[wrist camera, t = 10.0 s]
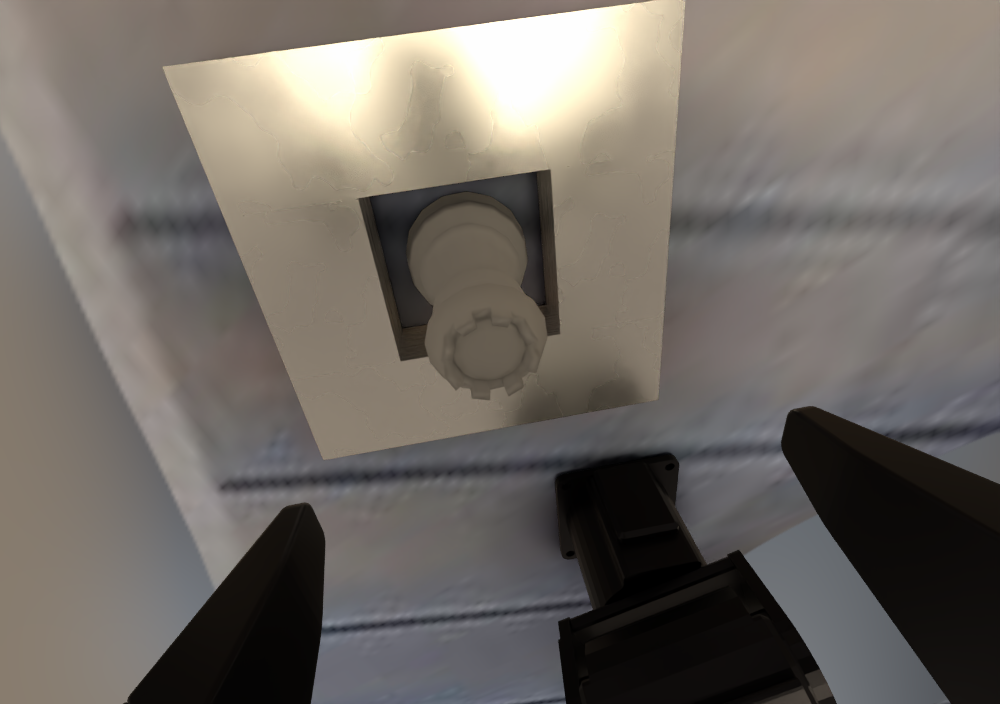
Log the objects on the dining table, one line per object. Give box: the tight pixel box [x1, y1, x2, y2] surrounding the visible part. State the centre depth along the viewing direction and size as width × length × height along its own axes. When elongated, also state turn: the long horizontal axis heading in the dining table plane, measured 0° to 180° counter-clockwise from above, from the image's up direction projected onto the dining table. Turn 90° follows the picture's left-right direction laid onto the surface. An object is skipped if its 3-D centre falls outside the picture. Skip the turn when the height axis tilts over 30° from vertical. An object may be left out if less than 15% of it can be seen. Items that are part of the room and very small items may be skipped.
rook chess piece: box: [406, 192, 547, 400], centre depth 16 cm, size 4×4×8 cm
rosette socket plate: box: [162, 0, 685, 460], centre depth 18 cm, size 14×14×2 cm
